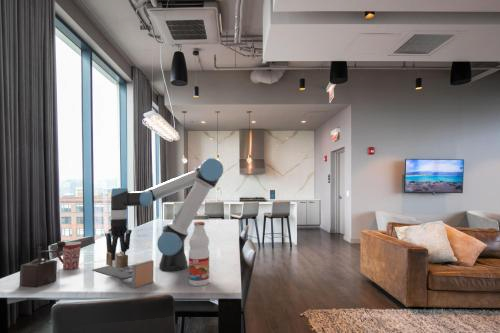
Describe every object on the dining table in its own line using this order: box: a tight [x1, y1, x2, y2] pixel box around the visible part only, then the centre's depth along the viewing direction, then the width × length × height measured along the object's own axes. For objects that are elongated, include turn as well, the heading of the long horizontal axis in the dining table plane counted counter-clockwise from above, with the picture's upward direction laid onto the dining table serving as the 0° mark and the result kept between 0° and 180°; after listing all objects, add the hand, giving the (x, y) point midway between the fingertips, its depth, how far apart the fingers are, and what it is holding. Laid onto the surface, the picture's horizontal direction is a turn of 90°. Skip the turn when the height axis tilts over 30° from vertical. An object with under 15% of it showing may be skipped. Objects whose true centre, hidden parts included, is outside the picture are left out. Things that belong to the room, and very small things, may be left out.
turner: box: [105, 252, 133, 274], centre depth 144 cm, size 24×8×6 cm, turn 56°
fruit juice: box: [188, 221, 210, 287], centre depth 137 cm, size 9×9×28 cm
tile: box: [131, 259, 154, 289], centre depth 134 cm, size 10×2×10 cm, turn 146°
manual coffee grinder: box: [18, 240, 67, 288], centre depth 140 cm, size 16×11×18 cm
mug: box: [55, 241, 82, 271], centre depth 162 cm, size 13×9×14 cm
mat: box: [92, 265, 132, 281], centre depth 154 cm, size 12×28×1 cm, turn 56°
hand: (118, 265), depth 146 cm, fingers closed on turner, 3 cm apart
